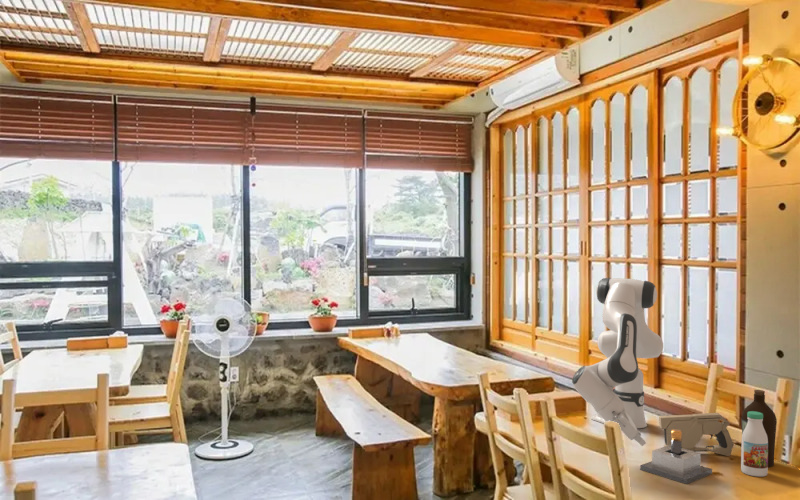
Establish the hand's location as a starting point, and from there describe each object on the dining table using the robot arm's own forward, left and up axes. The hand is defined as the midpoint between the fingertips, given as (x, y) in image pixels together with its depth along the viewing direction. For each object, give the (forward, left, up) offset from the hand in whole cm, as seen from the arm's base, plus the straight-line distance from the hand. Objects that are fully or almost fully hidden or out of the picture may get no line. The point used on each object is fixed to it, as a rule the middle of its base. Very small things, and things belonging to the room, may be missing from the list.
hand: (641, 439), depth 215 cm
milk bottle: (+24, +27, -10) cm, 38 cm away
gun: (+2, +31, -10) cm, 33 cm away
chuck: (+8, +7, -10) cm, 15 cm away
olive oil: (+20, +39, -10) cm, 45 cm away
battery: (+8, +7, -8) cm, 14 cm away
